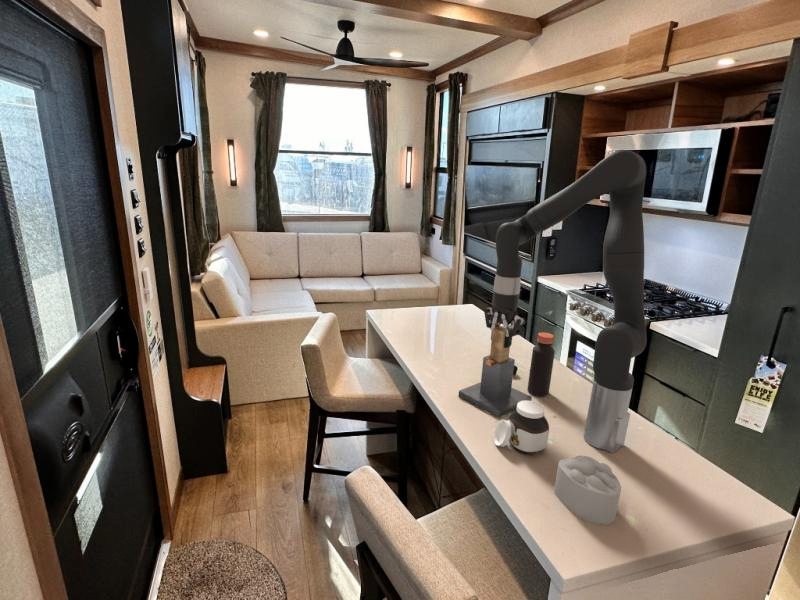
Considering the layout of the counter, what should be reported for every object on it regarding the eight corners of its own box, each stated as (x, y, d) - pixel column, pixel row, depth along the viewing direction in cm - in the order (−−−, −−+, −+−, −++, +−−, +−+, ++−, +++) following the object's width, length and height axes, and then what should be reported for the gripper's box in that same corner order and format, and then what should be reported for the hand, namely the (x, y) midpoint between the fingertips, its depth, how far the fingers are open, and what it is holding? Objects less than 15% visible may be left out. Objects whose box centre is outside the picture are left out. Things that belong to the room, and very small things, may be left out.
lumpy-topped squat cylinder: (583, 479, 105) (589, 447, 103) (628, 518, 94) (636, 483, 91) (547, 488, 102) (552, 455, 99) (589, 530, 90) (596, 494, 88)
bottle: (523, 391, 147) (530, 334, 142) (533, 385, 152) (541, 329, 146) (542, 399, 143) (550, 340, 137) (552, 392, 147) (560, 335, 142)
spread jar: (550, 453, 115) (556, 412, 112) (517, 465, 109) (523, 423, 106) (517, 429, 125) (522, 392, 122) (485, 440, 119) (490, 400, 116)
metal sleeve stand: (531, 402, 140) (536, 361, 136) (498, 418, 130) (503, 374, 126) (491, 383, 152) (495, 344, 148) (458, 396, 142) (461, 355, 138)
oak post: (504, 389, 140) (512, 329, 134) (496, 393, 137) (503, 332, 132) (494, 385, 143) (501, 325, 137) (486, 388, 140) (492, 328, 135)
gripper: (534, 294, 128) (527, 349, 133) (495, 283, 139) (490, 335, 144) (518, 297, 124) (511, 355, 129) (479, 286, 134) (474, 340, 139)
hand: (500, 344), depth 136 cm, fingers closed on oak post, 4 cm apart
